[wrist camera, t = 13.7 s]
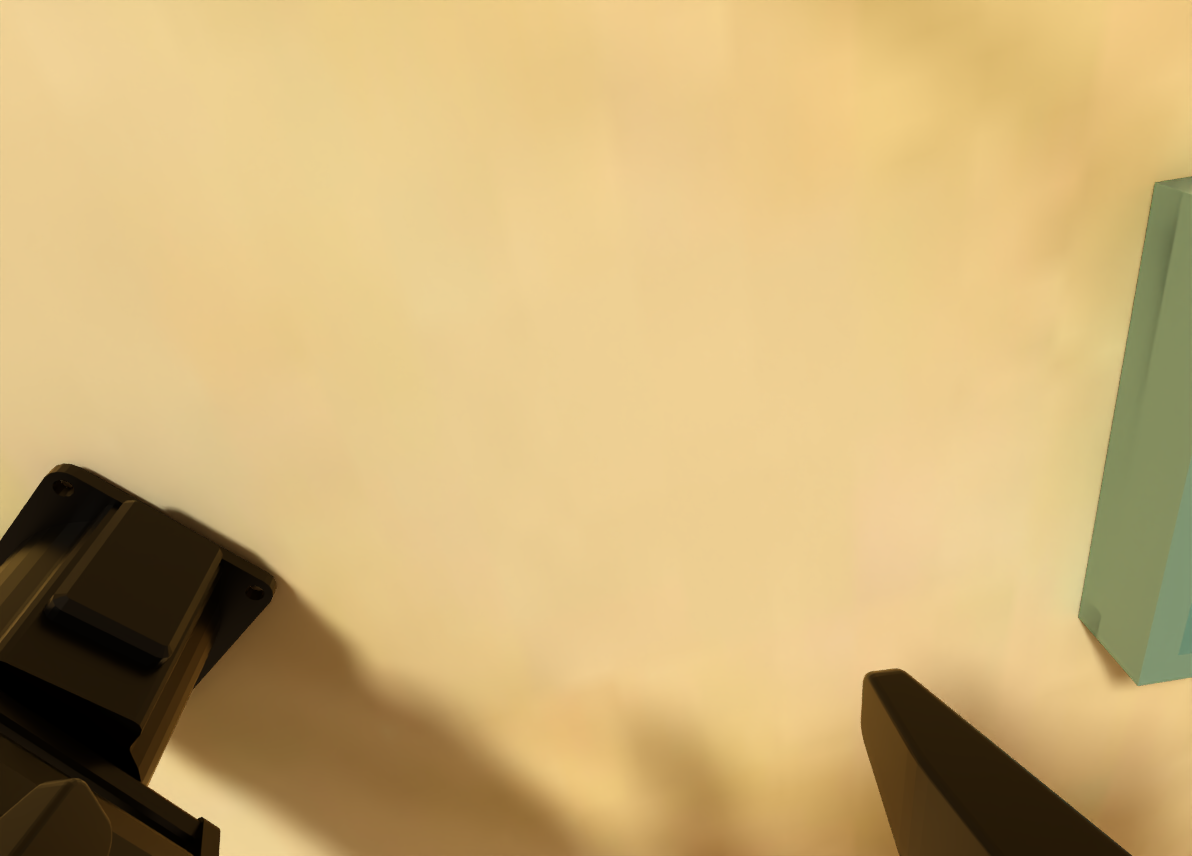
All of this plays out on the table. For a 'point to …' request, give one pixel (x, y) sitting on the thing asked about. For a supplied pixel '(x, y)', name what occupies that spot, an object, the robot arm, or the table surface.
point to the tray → (1150, 466)
